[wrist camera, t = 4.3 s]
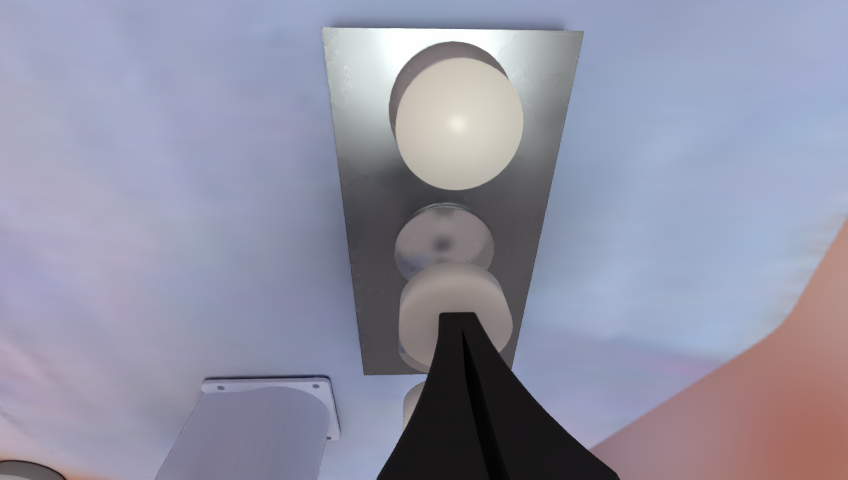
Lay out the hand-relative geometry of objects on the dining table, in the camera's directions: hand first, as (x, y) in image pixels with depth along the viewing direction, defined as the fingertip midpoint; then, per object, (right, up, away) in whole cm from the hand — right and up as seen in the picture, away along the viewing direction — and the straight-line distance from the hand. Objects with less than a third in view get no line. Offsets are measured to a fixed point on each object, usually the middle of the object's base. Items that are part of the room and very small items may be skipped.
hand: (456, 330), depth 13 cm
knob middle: (0, +1, +3) cm, 3 cm away
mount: (0, +4, +7) cm, 8 cm away
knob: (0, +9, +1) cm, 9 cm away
